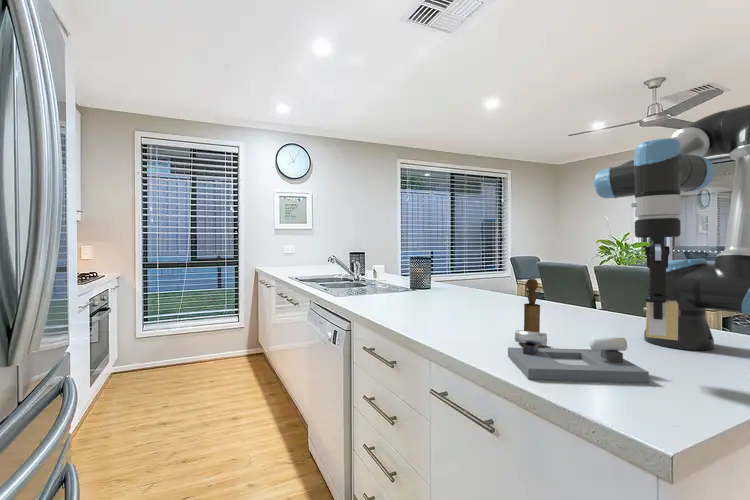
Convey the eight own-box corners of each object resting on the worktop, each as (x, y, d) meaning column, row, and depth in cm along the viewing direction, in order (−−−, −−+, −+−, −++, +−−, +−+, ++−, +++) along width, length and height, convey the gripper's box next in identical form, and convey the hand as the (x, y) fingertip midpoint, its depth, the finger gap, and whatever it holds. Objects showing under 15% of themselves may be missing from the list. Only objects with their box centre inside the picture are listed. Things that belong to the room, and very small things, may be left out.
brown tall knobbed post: (547, 349, 100) (547, 280, 100) (520, 348, 101) (521, 279, 101) (541, 343, 107) (542, 278, 106) (516, 341, 108) (517, 277, 108)
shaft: (547, 352, 90) (547, 331, 89) (543, 356, 86) (543, 335, 86) (518, 347, 93) (518, 328, 93) (513, 352, 90) (513, 331, 90)
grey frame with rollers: (606, 358, 92) (607, 329, 92) (648, 383, 76) (649, 347, 76) (507, 356, 94) (508, 327, 94) (528, 379, 78) (528, 344, 78)
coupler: (679, 335, 79) (679, 301, 78) (681, 340, 75) (681, 304, 74) (643, 331, 82) (643, 298, 82) (643, 336, 78) (643, 302, 78)
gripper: (635, 220, 88) (635, 321, 88) (633, 217, 73) (634, 339, 73) (677, 218, 83) (677, 325, 84) (684, 215, 69) (684, 344, 69)
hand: (657, 331), depth 79 cm, fingers closed on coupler, 5 cm apart
